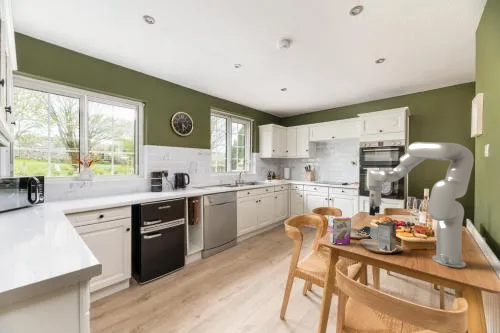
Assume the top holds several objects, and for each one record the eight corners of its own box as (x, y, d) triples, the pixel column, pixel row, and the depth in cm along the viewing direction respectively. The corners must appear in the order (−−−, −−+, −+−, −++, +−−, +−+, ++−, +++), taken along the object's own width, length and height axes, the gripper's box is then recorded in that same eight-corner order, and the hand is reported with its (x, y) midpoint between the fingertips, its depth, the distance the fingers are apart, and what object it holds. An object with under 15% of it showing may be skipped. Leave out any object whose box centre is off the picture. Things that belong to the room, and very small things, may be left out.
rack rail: (367, 237, 151) (367, 234, 151) (355, 234, 157) (355, 231, 157) (377, 230, 165) (377, 228, 165) (365, 228, 171) (365, 226, 171)
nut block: (377, 240, 146) (377, 228, 146) (370, 238, 149) (370, 227, 149) (379, 238, 149) (379, 227, 149) (372, 236, 152) (372, 225, 152)
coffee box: (384, 247, 134) (384, 220, 133) (396, 250, 129) (396, 222, 128) (377, 251, 128) (378, 223, 127) (390, 254, 123) (390, 225, 123)
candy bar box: (333, 245, 138) (333, 218, 137) (329, 242, 143) (330, 216, 142) (351, 244, 138) (351, 218, 138) (347, 241, 143) (347, 216, 143)
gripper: (377, 190, 140) (376, 217, 140) (385, 187, 152) (384, 213, 153) (364, 189, 145) (363, 215, 146) (373, 186, 157) (372, 211, 158)
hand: (374, 214), depth 149 cm, fingers open, 9 cm apart
